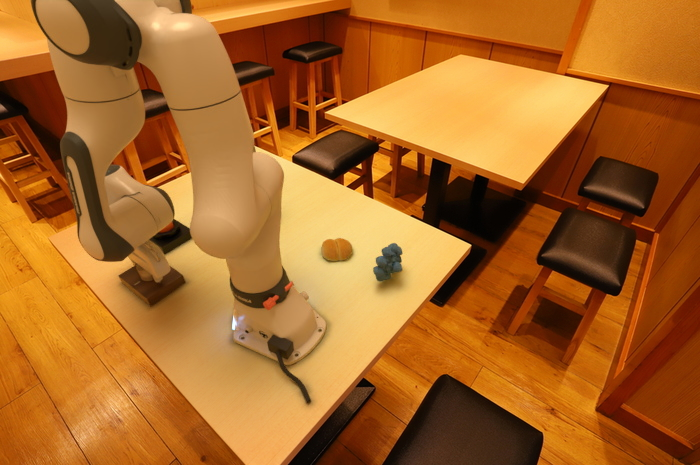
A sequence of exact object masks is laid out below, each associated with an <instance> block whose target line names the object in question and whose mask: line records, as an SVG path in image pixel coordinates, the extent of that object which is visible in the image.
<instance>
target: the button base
mask: <svg viewBox="0 0 700 465" xmlns="http://www.w3.org/2000/svg"><path fill="white" fill-rule="evenodd" d="M172 222H173V225H174V227H173V228H172V229H171V230H169V231H167V232H163V233H161V232H158V233H156V235H154V236H153V237H152V238H150V239H149V241H151V242H152V243H154V244H155V245H157V246H158V247H159V248H160V249H161V250H162V252H163V254H164V255H167V254H168V253H170V252H171V251H174V250H175V249H176V248H179V247H180V246H181V245H183V244H185V243H187V242H188V241H190V240H193V239H192V237H191V234H190V227H188V226H187V225H185V224H183V223H182V222H180V221H178V220H177V219H175V218H174V220H173V221H172Z"/></svg>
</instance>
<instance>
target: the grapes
mask: <svg viewBox="0 0 700 465" xmlns="http://www.w3.org/2000/svg"><path fill="white" fill-rule="evenodd" d="M402 255H403V248H401V246H399V245H398V244H397V243H396V242H392V243H390V244H388V246H385V247H383V248H381V255H378V256H377V257H375V264H376V265H375V266H373V268H372V271H373V275H374V276H375V280H376V281H377V282H384V281H389V280H392V274H396V273H400V272H402V271H403V265H402V262H403V260H402Z"/></svg>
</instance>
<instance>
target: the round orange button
mask: <svg viewBox="0 0 700 465" xmlns="http://www.w3.org/2000/svg"><path fill="white" fill-rule="evenodd" d="M173 227H174V225H173V222H171V223H170V224H169V225H167V226H166V227H165V228H163V229H162V230H161V231H159V232H161V233H163V232H167V231H169V230H171V229H172V228H173Z"/></svg>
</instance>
